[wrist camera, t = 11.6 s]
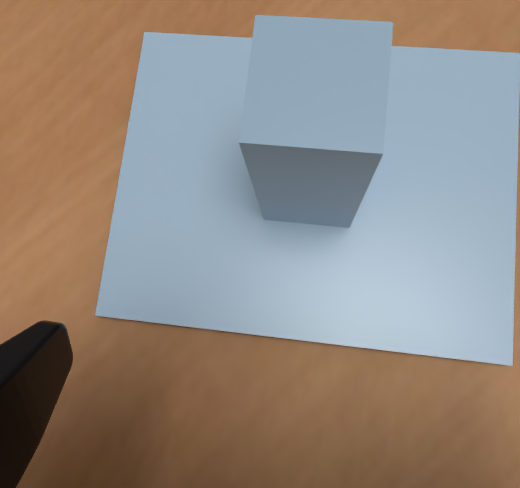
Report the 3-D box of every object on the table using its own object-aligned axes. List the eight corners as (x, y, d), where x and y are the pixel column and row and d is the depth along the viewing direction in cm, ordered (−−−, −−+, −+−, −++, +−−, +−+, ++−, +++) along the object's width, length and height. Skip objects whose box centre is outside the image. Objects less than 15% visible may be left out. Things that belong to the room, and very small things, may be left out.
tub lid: (500, 363, 16) (680, 390, 9) (106, 316, 18) (-46, 303, 10) (508, 68, 18) (663, -130, 11) (152, 46, 20) (54, -141, 12)
